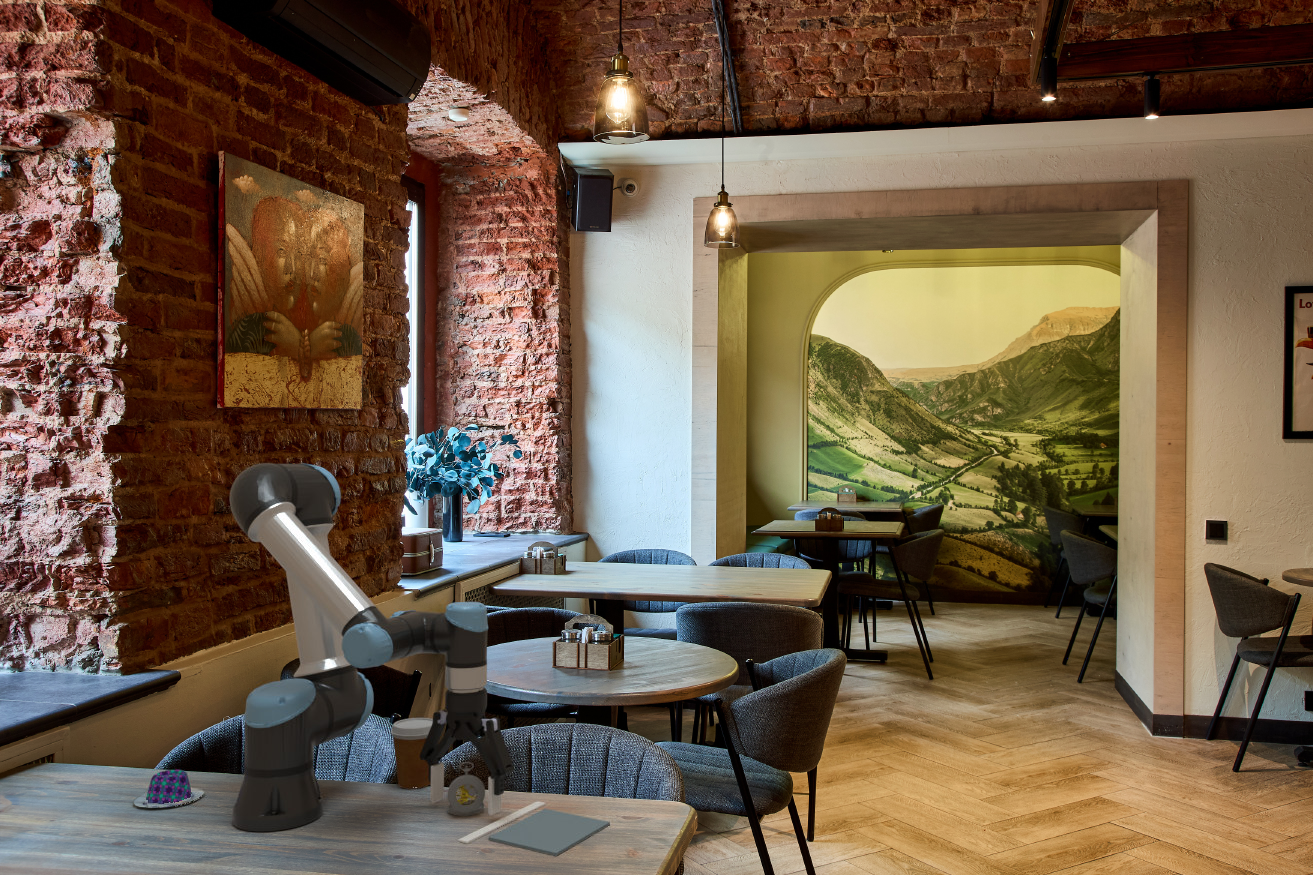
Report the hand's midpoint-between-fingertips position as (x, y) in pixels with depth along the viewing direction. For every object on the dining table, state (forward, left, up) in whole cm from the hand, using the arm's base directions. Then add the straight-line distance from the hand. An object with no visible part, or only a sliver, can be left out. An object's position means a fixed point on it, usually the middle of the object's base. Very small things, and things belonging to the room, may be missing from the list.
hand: (465, 806), depth 173 cm
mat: (+19, 0, -1) cm, 19 cm away
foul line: (+9, 0, -1) cm, 9 cm away
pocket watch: (0, 0, -2) cm, 2 cm away
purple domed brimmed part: (-54, -22, -2) cm, 58 cm away
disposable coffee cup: (-20, +8, -2) cm, 22 cm away
